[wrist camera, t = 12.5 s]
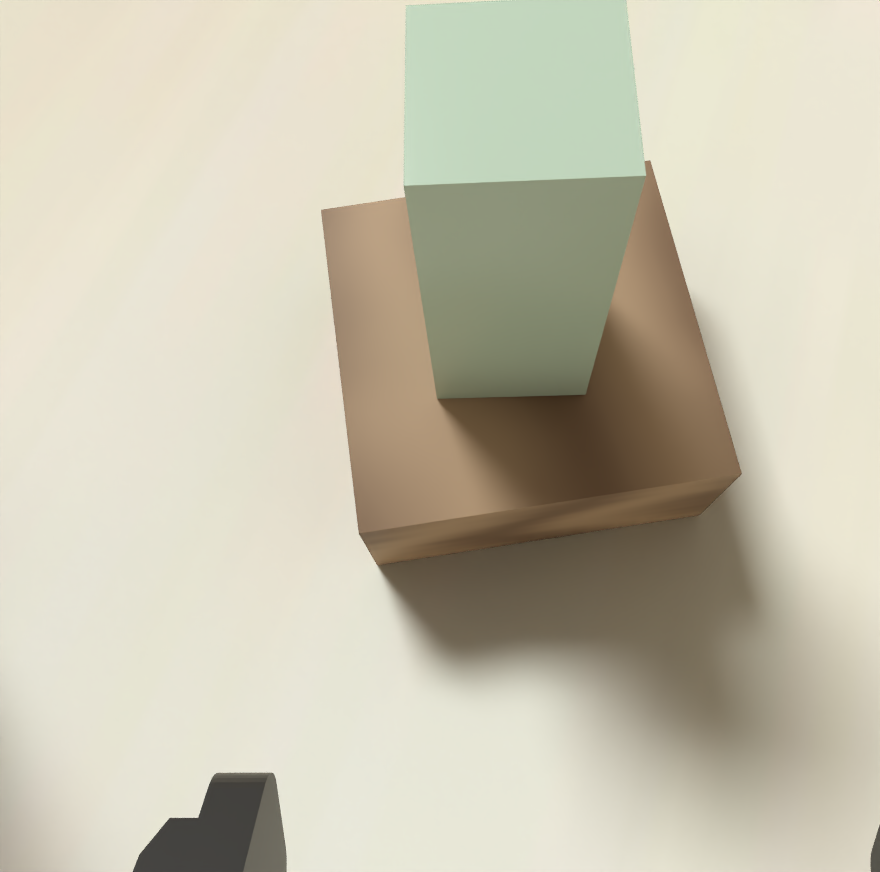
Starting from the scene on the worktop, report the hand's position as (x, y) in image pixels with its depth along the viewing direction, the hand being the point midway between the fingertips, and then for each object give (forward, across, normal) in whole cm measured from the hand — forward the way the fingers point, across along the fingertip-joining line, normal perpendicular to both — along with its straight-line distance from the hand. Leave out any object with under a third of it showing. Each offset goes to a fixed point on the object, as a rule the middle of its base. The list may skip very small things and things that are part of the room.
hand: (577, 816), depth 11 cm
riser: (+20, 0, +2) cm, 20 cm away
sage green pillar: (+16, 0, -1) cm, 16 cm away
